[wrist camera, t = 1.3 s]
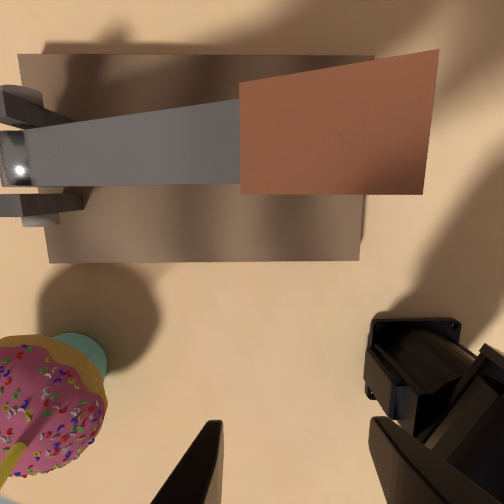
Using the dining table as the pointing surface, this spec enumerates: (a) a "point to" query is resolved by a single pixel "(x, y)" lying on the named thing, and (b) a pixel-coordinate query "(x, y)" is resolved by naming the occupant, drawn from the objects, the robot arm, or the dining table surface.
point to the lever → (253, 137)
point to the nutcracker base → (168, 196)
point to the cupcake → (48, 401)
